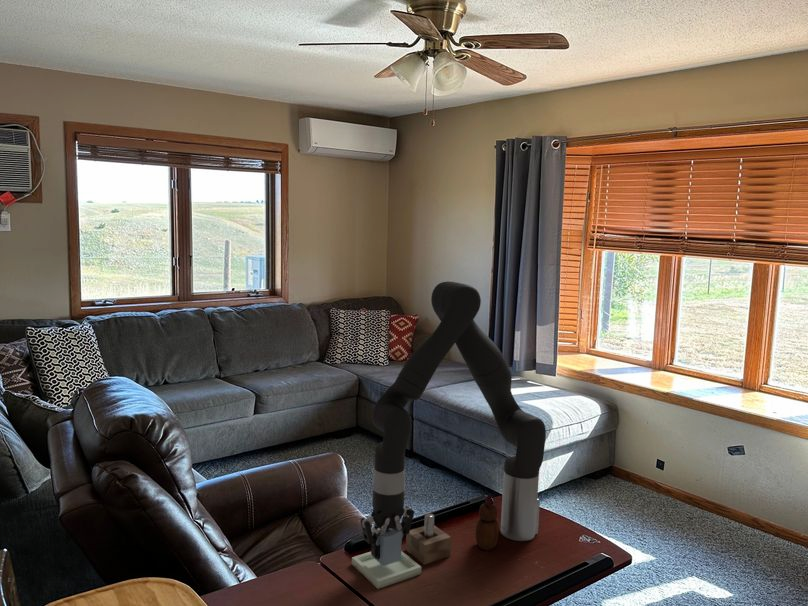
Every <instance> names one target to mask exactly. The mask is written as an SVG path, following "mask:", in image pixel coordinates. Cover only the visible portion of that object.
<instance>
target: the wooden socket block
mask: <svg viewBox="0 0 808 606" xmlns="http://www.w3.org/2000/svg"><path fill="white" fill-rule="evenodd" d="M405 535H406V537H405V551H406V552H408V553H409V554H410V555H411V556H413V557H414V558H415V559H416V560H417V561H419V562H421V564H422V565H424V566H425V565H428V564H430V563H434V562H436V561H439V560H442V559H445V558H448V557H450V556H451V546H452V545H451V544H452V537H451V535H449V534H448V533H446V532H445V531H443V530H441V529H440V528H439V527H438V526H436V525H435V524H434V537H432V538H429V539H426V538H425V537H424V525H422V526H419V527H416V528H412V529H410V532H409V534H405Z"/></svg>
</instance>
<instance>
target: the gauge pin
mask: <svg viewBox="0 0 808 606" xmlns="http://www.w3.org/2000/svg"><path fill="white" fill-rule="evenodd" d="M434 525H435V514H434V513H426V514H424V525H423V526H424V537H425V538H426V539H429V538H432V537H434Z"/></svg>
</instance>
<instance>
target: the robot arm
mask: <svg viewBox="0 0 808 606" xmlns="http://www.w3.org/2000/svg"><path fill="white" fill-rule="evenodd" d="M481 300H482V299H481V294H480V292H479V291H478V289H477V288H476V287H474V286H472V285H470V284H466V283H460V282H455V281H442V282H439V283H438V284H437V285H435V287H434V288H433V290H432V293H431V299H430V301H431V305H432V310H433V311H434V313H435V314H436V317H437V318H438V319H439V321H440V322H439V324H438V326H437V327H436V329H435V330H434V331H433V332H432V333H431V335H430V336H429V337H428V338H427V339H426V340H425V341H424V342H422V343H421V344H420V345H419V346H418V347H417V348H416V349H415V350H414V351H413V352H412V353H411V355H409V357H408V358H407V360H406V361H405V363H404V364H403V366H402V368H401V370H400V372H399V374H398V376H397V377H396V379H395V381H394V382H393V384H391V385H390V386H389V387H388V388H387V390H386V391H385V392H384V393H383V394H382V395H381V396H380V397H379V398H378V400H377V401H376V403H375V405H374V406H373V407H372V411H371V422H372V424H373V426H374V427H376V429H378V430H379V431H381V432H383V439H382V441H381V442H379V443H378V444H377V445H376V446H375V450H374V451H375V452H374V468H373V469H374V470H373V475H372V476H373V477H372V496H371V497H372V501H371V503H372V512H371V514H370V516H368V517H367V518H365V517H362V518H360V526H361V531H362V536H363V540H364V541H365V542H366V543H368V545H371V549H370V552H371V554H372V556H373V557H374V558H375V559H376V560H378V559H380V542H381V536H384V534H385V531H386V530H388V529H389V528H394V529H396V530H397V531H401V532H402V539H403V538H404V536H405V535H406V534H409V532H410V530H411V527H412V524H413V519H414V514H415V511H414V509H412V508H411V507H409V506H405V507H404V505H405V496H406V495H405V494H406V493H405V489H406V487H405V486H406V473H405V463H406V462H405V461H406V459H405V458H406V454H405V453H406V450H407V447H408V444H409V440H410V437H411V433H412V432H411V431H412V427H413V426H412V417H411V415H410V413H409V412H408V410H407V409H405V407H406V405H407V404H408V403H409V402H410V401H412V402H413V401H418V400H419V399H420V398H421V397H422V395H423V393H424V392H425V390H426V388H427V387H428V384H429V383H430V381H431V380H432V378H433V376H434V374H435V372H436V371H437V369H438V368H439V366H440V364H441V363H442V361H443V360H444V358H445V357H446V356H447V354H448V353H449V352H450V350H452V347H454V345H456V347H457V349H458V351H459V354H460V355H461V357H462V358H463V361H464V363H465V365H466V366H467V368H468V370H469V372H470V374H471V376H472V378H473V380H474V382H475V383H476V385H477V386H478V388H479V390H480V392H481V395H483V397H484V399H485V401H486V403H487V404H488V406H489V409H490V410H491V412H492V415H493V418H494V419H495V420H494V421H495V423H496V425H497V428H498V430H499V432H500V434H501V436H502V438H503V439H504V440H505V441H506V442H507V443H509V444H511V445H512V446H515V447H516V449H515V455H514V456H510V457H507V458H506V459H505V460H504V464H503V465H504V466H503V478H502V479H503V480H502V496H501V497H502V499H501V500H502V501H501V516H500V534H501V535H502V536H503V537H504V538H506V539H509V540H511V541H512V540H513V541H517V542H526V541H531V540H533V539H534V538H535V537H536V535H538V533H539V521H540V519H539V518H540V504H541V503H540V502H541V501H540V499H539V498H538V495H539V479H540V478H539V477H540V469H541V467H542V464H543V461H544V456H545V455H544V454H545V446H546V438H547V437H546V436H547V435H546V434H547V431H546V430H547V429H546V426H545V423H544V421H543V420H542V419H541V418H539V417H537V416H535V415H533V414H530V413H529V412H526V411H524V410H522V409H521V407H520V406H519V404H518V403H517V400H515V397H514V395H513V394H512V378H513V377H512V371H511V369H510V366H509V364H508V362H507V361H506V359H505V356H504V354H503V353H502V352H501V350H500V348H499V347H498V346H497V345H496V344H495V342H494V341H493V340H492V339H491V338H490V337H489V336H488V335H487V334H486V333H485V332H484V331H483V330H482V329H481V328H480V326H479V325H478V324H477V322H476V321H475V318H476V316H477V315H478V313H479V311H480V308H481V304H482V303H481ZM379 528H380V530H379ZM376 534H377V537H376ZM402 545H403V544H401V549H402V548H403V547H402Z"/></svg>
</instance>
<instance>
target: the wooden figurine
mask: <svg viewBox="0 0 808 606" xmlns="http://www.w3.org/2000/svg"><path fill="white" fill-rule="evenodd" d="M478 515H479V518H478V519H477V521H476V524H475V525H476V527H475V540H476V541H475V542H476V544H477V546H478V547H479V548H480V549H481V550H484V551H489V550H490V551H491V550H492V549H494V548H495V547H496V545H497V542H498V539H499V522H498V520H497V517H498V509H497V506H496V505H495V504H493V494H491V493H490V492H489V493H488V495H487V496H486V497H485V501H484V503H482V504H481V505H480V506H479V510H478Z"/></svg>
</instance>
